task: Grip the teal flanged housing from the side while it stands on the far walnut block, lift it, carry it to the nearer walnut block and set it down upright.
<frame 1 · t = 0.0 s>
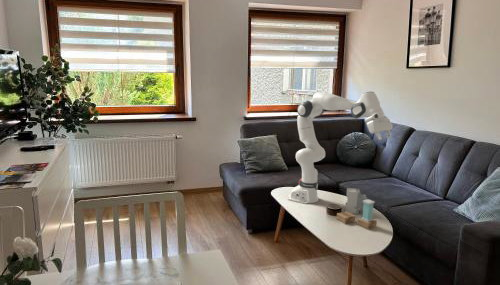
hand: (385, 138, 217), 54 cm above the table, tool tilted 30°, fingers open, 8 cm apart
stand a: (366, 225, 226), on the table
stand b: (345, 220, 233), on the table
housing: (367, 219, 225), point 4 cm above the table, touching stand a
circuit breaker: (356, 212, 248), on the table
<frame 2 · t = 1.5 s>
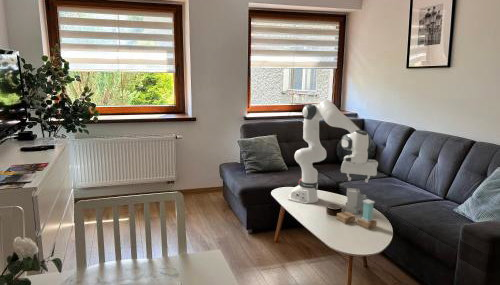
hand: (357, 181, 216), 30 cm above the table, tool pointing down, fingers open, 8 cm apart
nothing on the table moved.
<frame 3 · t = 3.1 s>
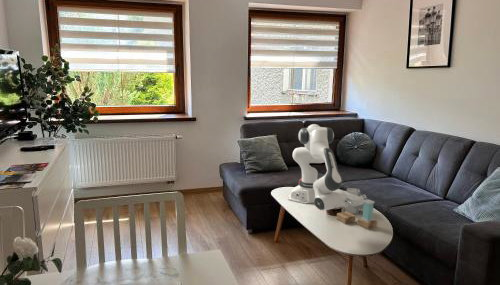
hand: (356, 194, 215), 22 cm above the table, tool horizontal, fingers open, 8 cm apart
nothing on the table moved.
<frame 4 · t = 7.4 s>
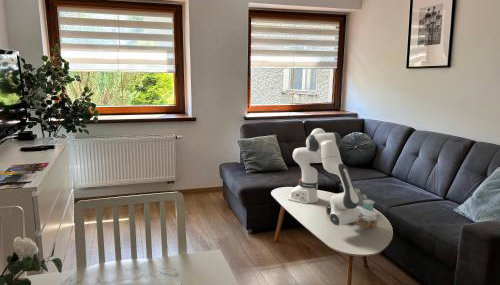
hand: (369, 209, 224), 11 cm above the table, tool horizontal, fingers closed on housing, 4 cm apart
housing: (367, 219, 225), point 4 cm above the table, touching gripper, stand a
everything else where it was.
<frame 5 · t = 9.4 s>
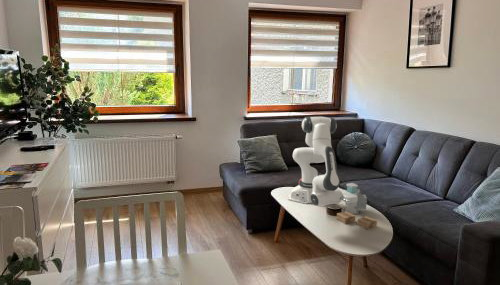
hand: (352, 192, 229), 19 cm above the table, tool horizontal, fingers closed on housing, 4 cm apart
housing: (350, 202, 230), point 12 cm above the table, touching gripper
everything else where it was.
when the fingers open (11 cm above the table, at t = 11.6 s): housing stays where it is, resting on stand b.
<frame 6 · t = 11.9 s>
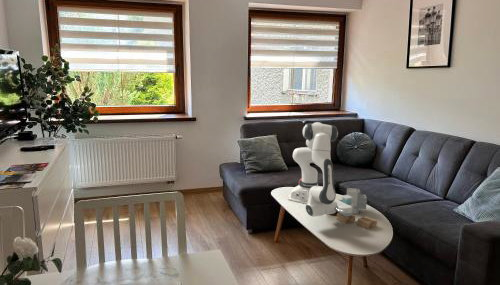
hand: (347, 203, 232), 11 cm above the table, tool horizontal, fingers open, 7 cm apart
housing: (345, 214, 233), point 4 cm above the table, touching stand b
everything else where it was.
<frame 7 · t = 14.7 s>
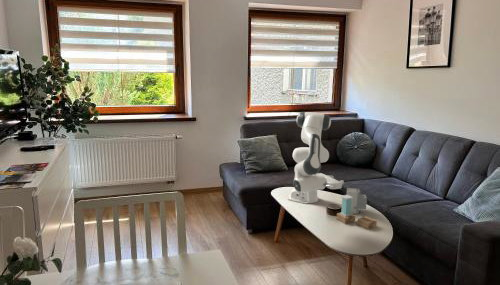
hand: (337, 179, 223), 29 cm above the table, tool horizontal, fingers open, 8 cm apart
nothing on the table moved.
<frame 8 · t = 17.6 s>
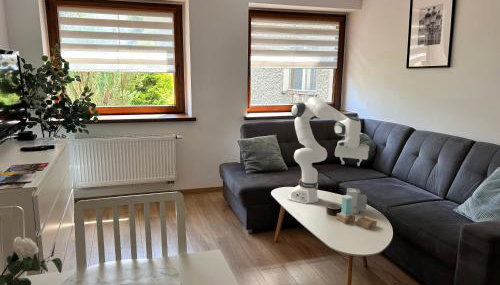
hand: (350, 164, 232), 35 cm above the table, tool pointing down, fingers open, 8 cm apart
nothing on the table moved.
at the end: housing inside the target area on the stand b (0.1 cm from its centre), point 4.0 cm above the stand b's base; housing tilted 0°; the gripper is holding nothing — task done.
